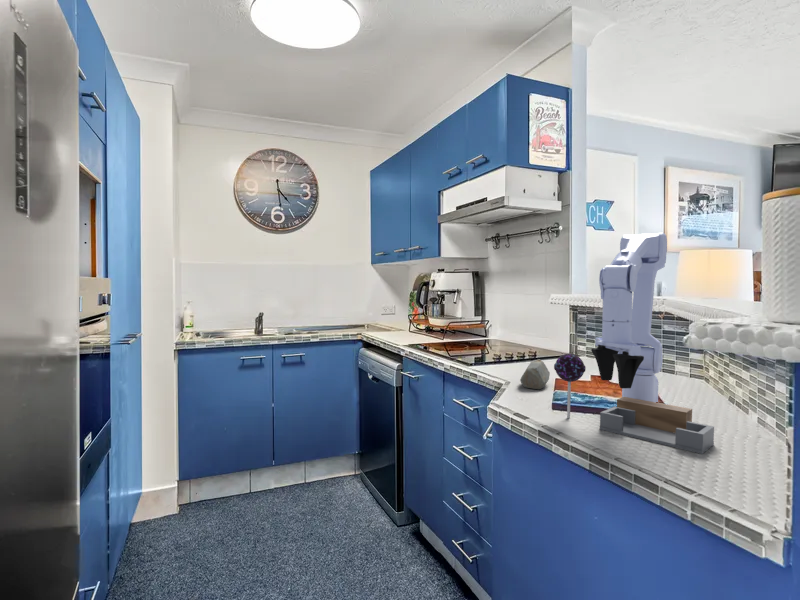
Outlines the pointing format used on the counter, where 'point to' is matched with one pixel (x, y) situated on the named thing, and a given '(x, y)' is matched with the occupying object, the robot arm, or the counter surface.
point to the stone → (535, 375)
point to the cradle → (658, 431)
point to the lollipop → (569, 372)
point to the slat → (657, 414)
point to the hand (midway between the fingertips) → (615, 383)
